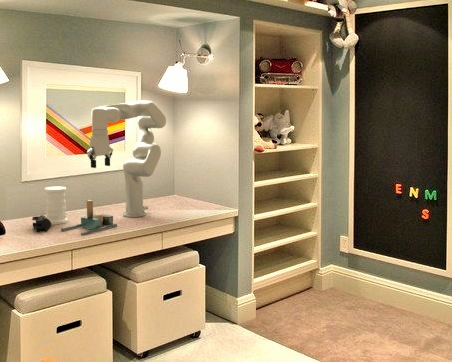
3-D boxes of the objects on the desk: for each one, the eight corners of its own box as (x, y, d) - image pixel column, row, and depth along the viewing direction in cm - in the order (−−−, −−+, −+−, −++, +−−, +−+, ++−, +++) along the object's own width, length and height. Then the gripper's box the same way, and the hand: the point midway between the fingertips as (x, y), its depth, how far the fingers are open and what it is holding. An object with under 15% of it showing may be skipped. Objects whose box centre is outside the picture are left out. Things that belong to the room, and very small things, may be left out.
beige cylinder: (97, 224, 290) (97, 213, 289) (104, 226, 288) (104, 214, 287) (90, 226, 286) (90, 215, 285) (97, 228, 283) (97, 216, 283)
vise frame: (95, 222, 296) (95, 212, 295) (117, 226, 288) (117, 216, 287) (61, 230, 277) (60, 220, 276) (83, 235, 269) (83, 225, 268)
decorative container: (72, 220, 299) (71, 187, 296) (57, 225, 288) (56, 190, 286) (55, 218, 304) (54, 185, 301) (40, 222, 293) (38, 188, 291)
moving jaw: (85, 225, 287) (84, 198, 284) (99, 228, 281) (99, 201, 279) (81, 227, 284) (80, 199, 282) (95, 229, 279) (94, 202, 277)
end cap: (51, 231, 276) (51, 217, 275) (36, 233, 272) (36, 219, 271) (47, 227, 285) (46, 214, 284) (32, 228, 281) (32, 215, 280)
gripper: (106, 131, 291) (107, 164, 294) (81, 133, 277) (82, 168, 280) (117, 132, 287) (118, 165, 290) (92, 134, 273) (93, 169, 276)
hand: (100, 166), depth 285 cm, fingers open, 9 cm apart
